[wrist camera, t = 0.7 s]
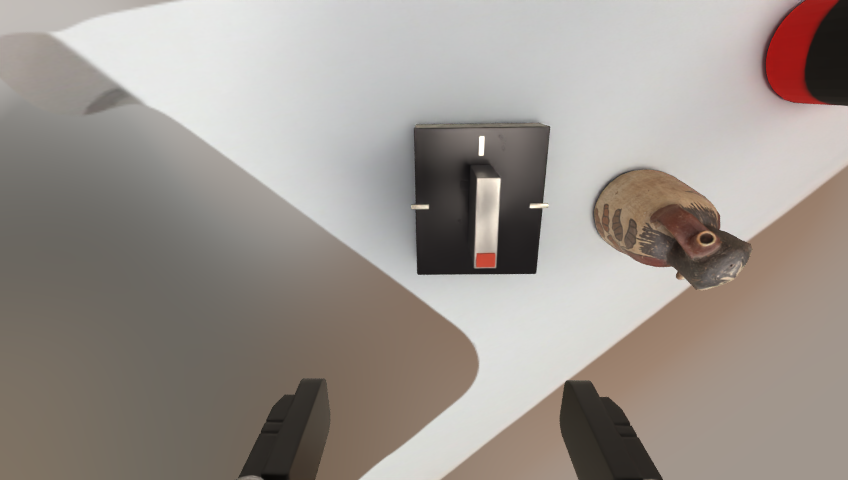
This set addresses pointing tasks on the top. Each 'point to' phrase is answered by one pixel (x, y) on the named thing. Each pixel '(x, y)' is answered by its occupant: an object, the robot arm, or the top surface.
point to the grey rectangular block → (484, 215)
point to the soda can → (811, 54)
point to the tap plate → (450, 186)
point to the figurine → (669, 228)
